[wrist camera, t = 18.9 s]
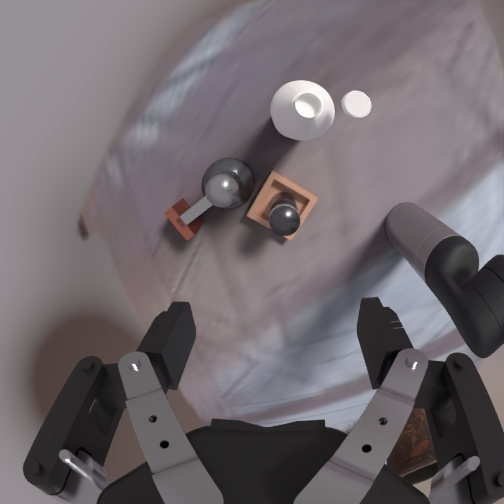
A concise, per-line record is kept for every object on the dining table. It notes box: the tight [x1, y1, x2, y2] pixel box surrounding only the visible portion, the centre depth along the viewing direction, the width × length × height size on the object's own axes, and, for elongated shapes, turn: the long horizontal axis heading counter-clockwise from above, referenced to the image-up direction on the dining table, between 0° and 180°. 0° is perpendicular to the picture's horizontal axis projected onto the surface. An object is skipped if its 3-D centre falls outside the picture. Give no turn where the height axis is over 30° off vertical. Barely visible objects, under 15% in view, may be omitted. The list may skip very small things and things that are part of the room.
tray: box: [247, 169, 318, 240], centre depth 48 cm, size 9×9×2 cm
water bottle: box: [271, 80, 371, 141], centre depth 31 cm, size 9×6×25 cm
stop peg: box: [269, 192, 300, 236], centre depth 43 cm, size 4×4×10 cm
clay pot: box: [387, 408, 439, 485], centre depth 58 cm, size 25×29×30 cm
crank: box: [164, 170, 242, 240], centre depth 45 cm, size 12×6×6 cm, turn 127°
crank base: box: [203, 158, 254, 209], centre depth 48 cm, size 9×9×1 cm
